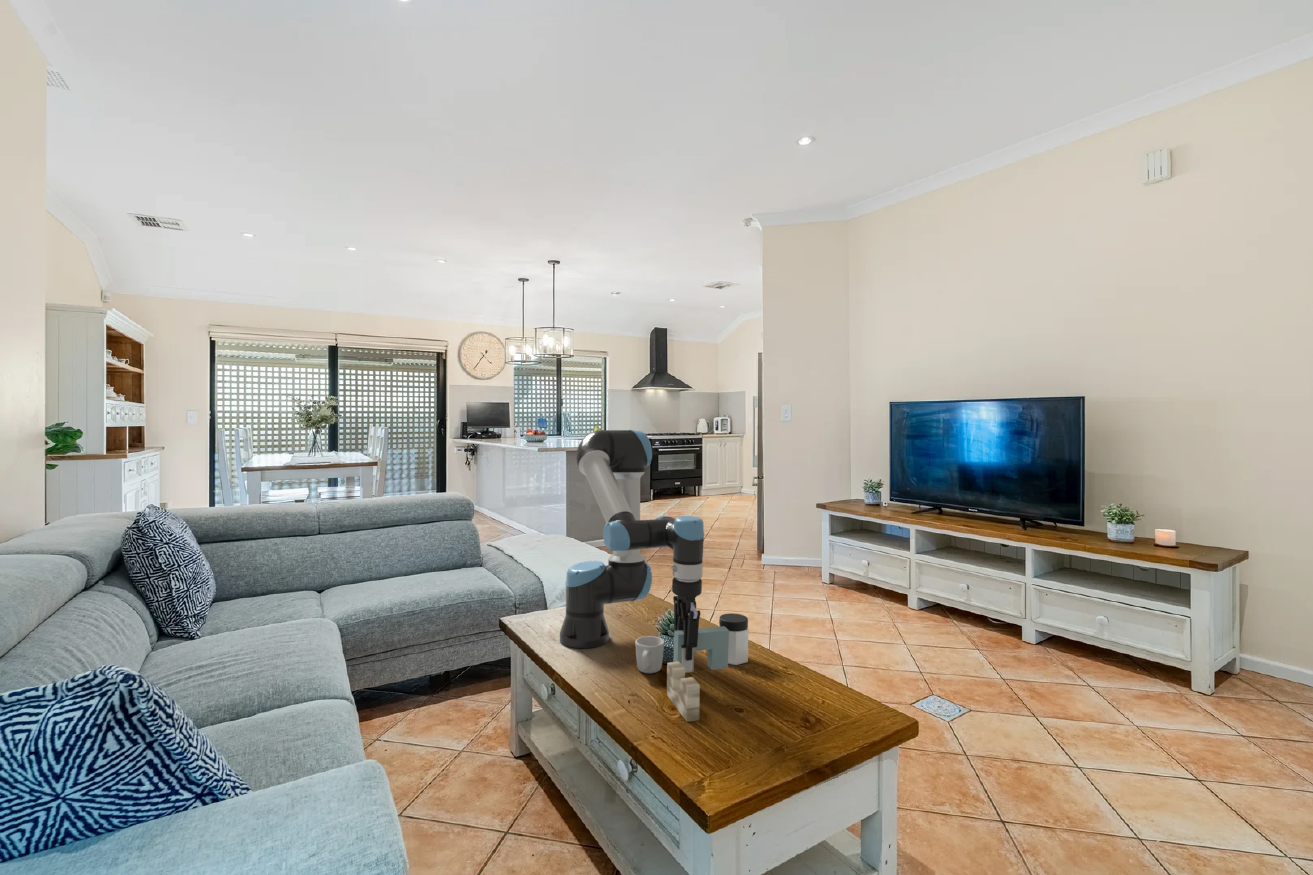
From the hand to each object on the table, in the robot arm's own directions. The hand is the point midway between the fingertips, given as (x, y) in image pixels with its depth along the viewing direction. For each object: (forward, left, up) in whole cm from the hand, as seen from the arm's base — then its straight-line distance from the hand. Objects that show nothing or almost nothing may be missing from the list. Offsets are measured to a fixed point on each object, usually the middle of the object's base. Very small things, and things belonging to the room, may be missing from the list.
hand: (684, 667), depth 154 cm
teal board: (0, +5, -1) cm, 5 cm away
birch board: (+11, -4, -5) cm, 12 cm away
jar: (-12, +20, -5) cm, 24 cm away
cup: (-10, -6, -5) cm, 13 cm away
